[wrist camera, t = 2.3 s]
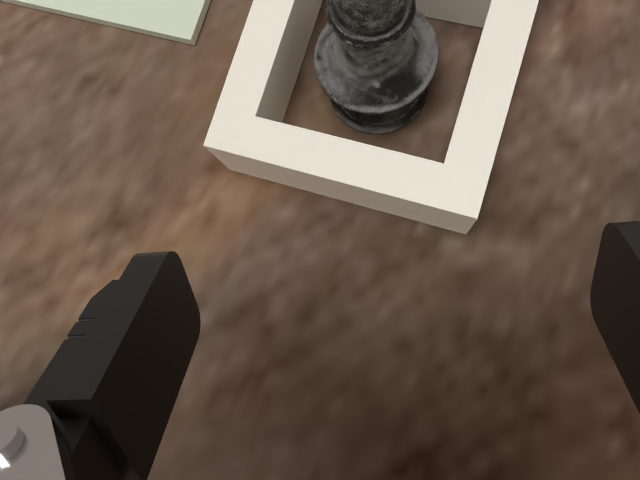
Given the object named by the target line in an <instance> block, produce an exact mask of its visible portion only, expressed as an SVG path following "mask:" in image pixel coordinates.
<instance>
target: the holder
mask: <svg viewBox="0 0 640 480" xmlns="http://www.w3.org/2000/svg"><path fill="white" fill-rule="evenodd" d="M322 1H323V0H254V1H253V4H252V7H251V9H250V12H249V15H248V18H247V21H246V24H245V27H244V30H243V32H242V35H241V38H240V41H239V44H238V47H237V50H236V53H235V56H234V58H233V61H232V64H231V67H230V70H229V73H228V76H227V79H226V81H225V84H224V87H223V90H222V93H221V96H220V99H219V102H218V104H217V107H216V110H215V113H214V116H213V119H212V122H211V125H210V128H209V130H208V133H207V136H206V139H205V142H204V145H203V146H204V147H206V148H207V149H208V150H209V151H210V152H211V153H212V154H213V155H214V156H215V157H216V158H218V159H219V160H220V161H221V162H222V163H223V164H224V165H225V166H226V167H227V168H229V169H230V170H232V171H236V172H240V173H243V174H247V175H251V176H254V177H258V178H261V179H265V180H269V181H272V182H276V183H280V184H283V185H287V186H291V187H294V188H298V189H302V190H305V191H309V192H313V193H316V194H320V195H323V196H327V197H331V198H334V199H338V200H342V201H345V202H349V203H353V204H356V205H360V206H364V207H367V208H371V209H375V210H378V211H382V212H385V213H389V214H393V215H396V216H400V217H404V218H407V219H411V220H415V221H418V222H422V223H426V224H429V225H433V226H437V227H440V228H444V229H447V230H451V231H455V232H458V233H462V234H467V232H468V231H469V230H470V228H471V227H472V226H473V224H474V223H475V221H476V220H477V219H478V215H479V212H480V208H481V204H482V201H483V197H484V194H485V190H486V187H487V183H488V180H489V176H490V172H491V169H492V165H493V162H494V158H495V155H496V151H497V148H498V144H499V140H500V137H501V133H502V130H503V126H504V123H505V119H506V116H507V112H508V109H509V105H510V101H511V98H512V94H513V91H514V87H515V84H516V80H517V77H518V73H519V69H520V66H521V62H522V59H523V55H524V52H525V48H526V45H527V41H528V37H529V34H530V30H531V27H532V23H533V20H534V16H535V13H536V9H537V5H538V2H539V0H416V9H417V10H418V11H419V12H420V13H422V14H423V15H424V16H425V17H429V18H434V19H439V20H444V21H450V22H455V23H460V24H465V25H470V26H475V27H480V28H483V32H482V35H481V39H480V42H479V45H478V49H477V52H476V56H475V59H474V63H473V66H472V69H471V73H470V76H469V80H468V83H467V86H466V90H465V93H464V97H463V100H462V104H461V107H460V110H459V114H458V117H457V121H456V124H455V128H454V131H453V134H452V138H451V141H450V145H449V148H448V151H447V155H446V158H445V162H444V163H440V162H436V161H432V160H428V159H424V158H420V157H416V156H412V155H408V154H404V153H400V152H396V151H392V150H388V149H384V148H380V147H376V146H372V145H368V144H364V143H360V142H356V141H352V140H348V139H344V138H340V137H336V136H332V135H328V134H324V133H320V132H316V131H312V130H308V129H304V128H300V127H296V126H292V125H288V124H284V123H282V122H283V119H284V116H285V113H286V110H287V107H288V104H289V101H290V98H291V95H292V92H293V89H294V86H295V83H296V80H297V77H298V74H299V71H300V68H301V65H302V62H303V59H304V56H305V53H306V50H307V47H308V44H309V41H310V38H311V35H312V32H313V29H314V26H315V23H316V20H317V17H318V14H319V11H320V8H321V5H322Z"/></svg>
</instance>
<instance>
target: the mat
mask: <svg viewBox="0 0 640 480" xmlns="http://www.w3.org/2000/svg"><path fill="white" fill-rule="evenodd" d="M0 1H2V2H6V3H11V4H15V5H20V6H24V7H28V8H33V9H37V10H42V11H46V12H50V13H55V14H59V15H63V16H68V17H72V18H77V19H81V20H85V21H90V22H94V23H98V24H103V25H107V26H112V27H116V28H120V29H125V30H129V31H134V32H138V33H142V34H147V35H151V36H155V37H160V38H164V39H169V40H173V41H177V42H182V43H186V44H191V45H195V44H196V41H197V38H198V35H199V32H200V30H201V27H202V24H203V21H204V18H205V16H206V13H207V10H208V7H209V4H210V2H211V0H0Z"/></svg>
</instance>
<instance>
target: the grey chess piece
mask: <svg viewBox="0 0 640 480" xmlns="http://www.w3.org/2000/svg"><path fill="white" fill-rule="evenodd" d="M326 15H327V19H328V22H327V24H326V25H325V27H324V28H323V30H322V31H321V33H320V35H319V38H318V40H317V43H316V46H315V53H314V66H315V71H316V75H317V79H318V81H319V82H320V84H321V86H322V88H323V90H324V92H325V93H326V94H327V95H328V96H329V97H330V98H331V103H332V106H333V108H334V110H335V112H336V113H337V115H338V117H339V118H340V119H341V120H342V121H343V122H344V123H345V124H346V125H348V126H350V127H351V128H353V129H355V130H357V131H360V132H364V133H368V134H385V133H389V132H393V131H396V130H398V129H400V128H402V127H404V126H405V125H407V124H408V123H409V122H411V121H412V120H413V119H414V118H415V117H416V116H417V115H418V113H419V112H420V110H421V109H422V107H423V105H424V103H425V100H426V96H427V93H428V84H429V82H430V81H431V79H432V78H433V75H434V72H435V69H436V66H437V63H438V42H437V39H436V35H435V31H434V29H433V28H432V26H431V25H430V23H429V21H428V20H427V18H426V17H425V16H424V15H423V14H422V13H420V12H419V11H418V10H417V9H416V0H327V3H326Z"/></svg>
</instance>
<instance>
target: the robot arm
mask: <svg viewBox="0 0 640 480" xmlns="http://www.w3.org/2000/svg"><path fill="white" fill-rule="evenodd" d="M590 300H591V309H592V314H593V318H594V321H595V323H596V325H597V327H598V329H599V331H600V333H601V335H602V337H603V340H604V342H605V344H606V346H607V348H608V350H609V352H610V354H611V356H612V358H613V360H614V362H615V364H616V366H617V368H618V370H619V372H620V374H621V376H622V378H623V380H624V383H625V385H626V387H627V389H628V391H629V393H630V395H631V397H632V399H633V401H634V403H635V405H636V407H637V409H638V411H639V413H640V221H632V222H617V223H609V224H607V225H606V226H605V228H604V230H603V233H602V237H601V242H600V247H599V252H598V257H597V262H596V267H595V271H594V276H593V281H592V286H591V294H590ZM78 319H79V322H76V323H75V325H74V326H73V328H72V329H71V331H70V332H69V334H68V339H67V340H64V342H63V343H62V345H61V346H60V348H59V349H58V351H57V353H56V354H55V356H54V357H53V359H52V360H51V362H50V363H49V365H48V367H47V368H46V370H45V371H44V373H43V374H42V376H41V377H40V379H39V381H38V382H37V384H36V385H35V387H34V388H33V390H32V391H31V393H30V394H29V396H28V398H27V399H26V401H25V402H24V404H23V405H18V406H14V407H10V408H7V409H5V410H3V411H0V480H147V478H148V475H149V472H150V470H151V467H152V464H153V461H154V459H155V456H156V453H157V450H158V448H159V445H160V442H161V439H162V437H163V434H164V431H165V428H166V426H167V423H168V420H169V418H170V415H171V412H172V409H173V407H174V404H175V401H176V398H177V396H178V393H179V390H180V387H181V385H182V382H183V379H184V376H185V374H186V371H187V368H188V365H189V363H190V360H191V357H192V354H193V352H194V349H195V346H196V343H197V341H198V338H199V333H200V313H199V308H198V305H197V302H196V300H195V297H194V294H193V292H192V289H191V286H190V283H189V281H188V278H187V275H186V273H185V270H184V267H183V264H182V262H181V259H180V257H179V256H178V254H177V253H176V252H173V251H170V252H156V253H141V254H136V255H134V256H133V258H132V259H131V261H130V262H129V264H128V266H127V267H126V269H125V270H124V272H123V274H122V275H121V277H120V279H119V280H112V281H111V282H110V283H109V284H107V285H106V286H105V287H104V288H103V289H102V290H100V291H99V292H98V293H97V294H96V295H95V296H93V297H92V298H91V300H90V301H89V303H88V304H87V306H86V308H85V309H84V311H83V312H82V314H81V315H80V317H79V318H78Z"/></svg>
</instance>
